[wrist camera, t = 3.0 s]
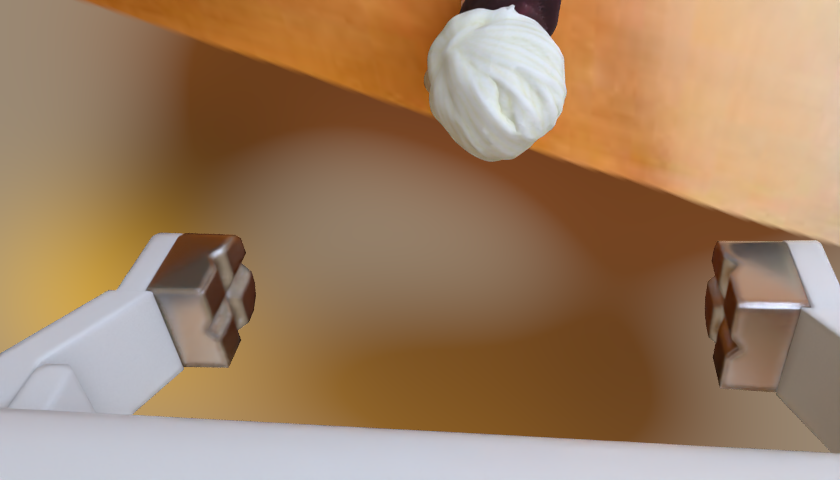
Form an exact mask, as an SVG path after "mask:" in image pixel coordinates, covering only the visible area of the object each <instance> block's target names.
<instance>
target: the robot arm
mask: <svg viewBox="0 0 840 480" xmlns="http://www.w3.org/2000/svg"><path fill="white" fill-rule="evenodd" d="M245 254H246V252H245V249H244V246H243V243H242V240H241V238H239V237H238V236H236V235H222V234H193V233H185V234H182V233H158V234H156V235H154V236H152V238H151V239H150V241H149V242H148V244H147V245H146V247H145V248H144V250H143V251H142V253H141V254H140V256H139V257H138V259H137V260H136V262H135V263H134V265H133V266H132V268H131V269H130V270H129V272H128V273H127V275H126V276H125V278H124V280H123V281H122V282H121V284H120V285H119V287H118V288H117V290H108V291H106V292H105V293H103V294H101V295H100V296H98V297H96V298H94V299H93V300H91V301H89V302H87V303H86V304H84V305H82V306H81V307H79V308H77V309H76V310H74V311H72V312H71V313H69V314H67V315H65V316H63V317H62V318H60V319H58V320H57V321H55V322H53V323H52V324H50V325H48V326H46V327H45V328H43V329H41V330H40V331H38V332H36V333H34V334H33V335H31V336H29V337H28V338H26V339H24V340H22V341H21V342H19V343H17V344H16V345H14V346H12V347H11V348H9V349H7V350H5V351H4V352H2V353H0V480H840V285H839V282H838V280H837V278H836V276H835V273H834V271H833V269H832V267H831V265H830V262H829V260H828V258H827V256H826V253H825V251H824V249H823V247H822V244H821V243H819V242H818V241H817V240H798V241H782V242H766V241H765V242H763V241H759V242H758V241H717V243H716V245H715V248H714V252H713V257H712V264H713V267H714V272H715V276H714V277H712V278H711V279H710V280H709V281H708V284H707V291H706V297H705V319H706V327H707V332H708V336H709V338H710V339H712V340H713V341H714V342H715V343H716V344H715V349H714V355H713V359H714V364H715V368H716V373H717V377H718V381H719V386H720V388H721V389H736V390H751V391H766V392H776V395H777V396H778V397H779V398H780V399H781V400H782V401H783V402H784V403H785V404H786V406H787V407H788V408H789V409H790V410H791V411H792V412H793V413H794V414H795V415H796V416H797V417H798V418H799V419H800V420H801V421H802V422H803V423H804V424H805V425H806V426H807V427H808V429H810V430H811V432H812V433H813V434H814V435H815V436H816V437H817V438H818V439H819V440H820V441H821V442H822V443H823V444H824V445H825V446H826V447H827V448H828V449H829V450H830V451H831V453H825V452H807V451H789V450H788V451H787V450H771V449H752V448H733V447H731V448H730V447H712V446H692V445H691V446H690V445H673V444H656V443H639V442H638V443H637V442H620V441H601V440H585V439H565V438H548V437H531V436H513V435H495V434H477V433H476V434H475V433H457V432H438V431H419V430H400V429H381V428H364V427H345V426H326V425H306V424H289V423H270V422H252V421H234V420H216V419H196V418H179V417H159V416H143V415H132V414H133V413H134V412H135V411H137V410H138V409H139V408H140V407H141V406H142V405H144V404H145V403H146V402H147V401H148V400H149V399H150V398H152V397H153V396H154V395H155V394H156V393H157V392H158V391H160V390H161V389H162V388H163V387H164V386H165V385H166V384H168V383H169V382H170V381H171V380H172V379H173V378H174V377H176V376H177V375H178V374H179V373H180V372H181V371H183V369H184V368H183V367H226V368H228V367H229V366H230V363H231V361H232V359H233V357H234V354H235V352H236V350H237V348H238V345H239V343H240V341H241V339H240V336H239V333H238V330H239V329H240V328H242V327H243V326H244V325H246V324H247V323H248V322H249V321H250V318H251V315H252V313H253V311H254V304H255V297H256V292H255V282H254V279H253V275H252V272H251V271H249V269H248V268H246V267H245V266H244V265H243V264H242V263H241V262H242V260H243V258H244V256H245Z"/></svg>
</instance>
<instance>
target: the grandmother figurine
mask: <svg viewBox="0 0 840 480" xmlns="http://www.w3.org/2000/svg"><path fill="white" fill-rule="evenodd" d="M560 4H561V0H461V10H460V13H459V14H458V15H456V16H455V17H453V18H452V19H451V20H450V21H449V22H448V23H447V24H446V26H445V27H444V29H443V30H442V32H441V33H440V34H439V35H438V36H437V37H436V39H435V40H434V42H433V43H432V45H431V47H430V50H429V52H428V58H427V63H428V70H427V71H426V73H425V76H424V85H425V87H426V89H427V91H428V92H429V103H430V108H431V112H432V113H433V115H434V117H435V118H436V119H437V120H438V121H439V122H440V123H441V125H442V126H443V127H444V128H445V129H446V130H447V132H448V133H449V134H450V136H451V137H452V138H453V139H454V141H455V142H456V143H457V144H459V145H460V146H461V147H462V148H464V149H465V150H466V151H467V152H469V153H470V154H472V155H473V156H475V157H477V158H480V159H482V160H485V161H499V160H501V159H504V160H510V159H514V158H515V157H517V156H518V155H520V154H521V153H523V152H524V151H525V150H527V149H528V148H530V147H531V146H532V144H533V143H534V142H535V141H536V140H538V139H539V138H541V137H542V136H544V135H545V134H546V133H547V132H548V131H550V130H551V129H552V128H553V127H554V125H555V124H556V120H557V118H558V117H559V116H560V114H561V112H562V109H563V104H564V99H565V97H566V93H567V90H566V85H565V70H564V69H565V68H564V57H563V55H562V53H561V51H560V49H559V48H558V46H557V45H556V44H555V42H554V41H553V40H552V38H551V35H552V34H553V32H554V30H555V28H556V26H557V22H558V16H559V10H560Z"/></svg>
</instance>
